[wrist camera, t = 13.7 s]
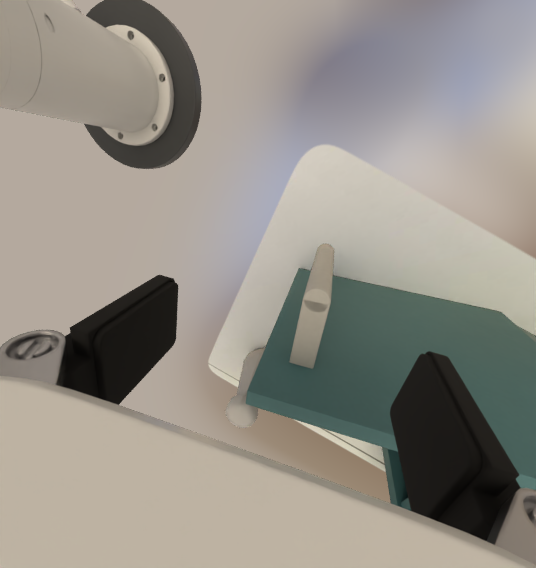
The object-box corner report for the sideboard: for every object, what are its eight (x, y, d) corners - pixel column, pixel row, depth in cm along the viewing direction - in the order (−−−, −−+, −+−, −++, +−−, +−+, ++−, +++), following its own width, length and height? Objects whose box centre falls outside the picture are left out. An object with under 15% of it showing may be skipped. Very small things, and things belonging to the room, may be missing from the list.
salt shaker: (287, 359, 45) (269, 424, 34) (266, 376, 48) (243, 442, 36) (261, 337, 45) (234, 395, 33) (242, 355, 47) (210, 415, 36)
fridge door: (307, 224, 36) (259, 303, 14) (527, 265, 31) (941, 470, 10) (297, 275, 39) (245, 404, 17) (496, 319, 35) (756, 564, 13)
